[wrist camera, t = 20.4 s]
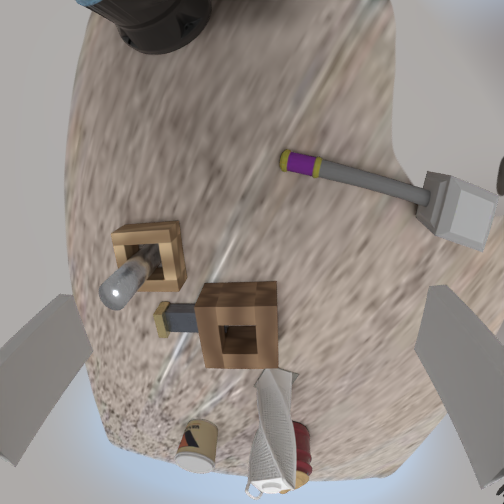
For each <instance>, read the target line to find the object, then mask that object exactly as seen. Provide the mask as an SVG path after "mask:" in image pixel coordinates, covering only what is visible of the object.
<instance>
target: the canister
mask: <svg viewBox="0 0 504 504" xmlns="http://www.w3.org/2000/svg"><path fill="white" fill-rule="evenodd" d="M292 423H293V427H294V433H295V440H296V483H295V489H297V488H299V487H301V486H303V485H304V484H306V483H307V482H308V481H309V475H310V474H311V473H312V467H311V465H310V462H311V459H312V457H311V455H310V435H309V432H308V430H307V428H306V427H305V426H304V425H302V424H300V423H297V422H293V421H292ZM288 491H290V489H287V490H281V491H280V492H279V493H281V494H285V493H287V492H288Z"/></svg>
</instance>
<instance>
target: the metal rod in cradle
mask: <svg viewBox="0 0 504 504" xmlns="http://www.w3.org/2000/svg"><path fill="white" fill-rule="evenodd" d="M161 262H162V261H161V255H160V250H159V244H158V243H156V244H145V245H144V246H143V247H142V248H141V249H140V250H139V251H138V252H136V253H135V254H134V255H133V256H132V257H131V258H130V259H129V260H127V261H126V262H125V263H124V264H123V265H122V266H121V267H120V268H119V269H118V270H117V271H115V272H114V273H113V274H112V275H111V276H110V277H109V278H108V279H107V280H106V281H105V282H104V283H103V284H102V285H101V286H100V288H99V296H100V299H101V301H102V302H103V304H104V305H105V306H107V307H108V308H110V309H112V310H121V309H123V308H124V306H125V305H126V304H127V303H128V302H129V300H130V299H131V298H132V297H133V295H134V294H135V293H136V292H137V291H138V289H139V288H140V287H141V286H142V285H143V283H144V282H145V281H146V280H147V279H148V277H149V276H150V275H151V274H152V273H153V272H154V270H155V269H156V268H157V267H158V266H159V264H160V263H161Z"/></svg>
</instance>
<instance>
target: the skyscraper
mask: <svg viewBox="0 0 504 504" xmlns="http://www.w3.org/2000/svg"><path fill="white" fill-rule="evenodd" d="M298 375H299V374H297V373H294V372H290V371H287V370H284V369H281V368H276V369H264V370H263V372H262V374H261V375H260V377H259V378H258V380H257V382H256V383H255V385H254V387H256V388H257V407H258V414H259V419H260V421H259V427H258V430H257V432H256V435H255V438H254V441H253V444H252V448H251V453H250V459H249V469H248V483H247V486H246V489H245V492H246V494H247V495H248V496H249V497H251V498H252V499H254V500H258V499H260V497H261V496H262V494H263V493H268V494H274V493H279V492H280V491H281V490H287V489H290V490H292V491H294V490H295V483H296V440H295V433H294V427H293V423H292V419H291V415H290V408H291V390H292V384H293V382H294V381H295V380H296V378H297V377H298ZM250 483H251V484H252V485H253V486H255V487H256V488H257V489H258V490H259V491H260V492H261V493H260V495H259V496H258V497H254V496H252V495H250V493H249V492H248V489H249V486H250Z"/></svg>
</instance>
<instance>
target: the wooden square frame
mask: <svg viewBox="0 0 504 504" xmlns="http://www.w3.org/2000/svg"><path fill="white" fill-rule="evenodd" d="M111 237H112V242H113V247H114V252H115V257H116V261H117V266H118V269H119V268H120V267H121V266H122V265H123V264H124V263H125V262H126V261H127V260H129V259H130V258H131V257H132V256H133V255H134V254H135V253H136V252H138V251H139V246H138V244H156V243H158V244H159V250H160V255H161V261H162V267H163V268H156V269H155V270H154V272H153V273H152V274H151V275H150V276H149V277H148V279H147V280H146V281H145V282H144V283H143V285H142V286H141V287H140V288H139V289H138V291H137V292H179V291H180V289H181V288H182V286H183V284H184V283H185V281H186V279H187V274H186V267H185V261H184V254H183V247H182V240H181V233H180V225H179V221H168V222H154V223H141V224H129V225H124V226H122V227H120V228H119V229H117V230H116V231H114V232H113V233H111Z"/></svg>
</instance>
